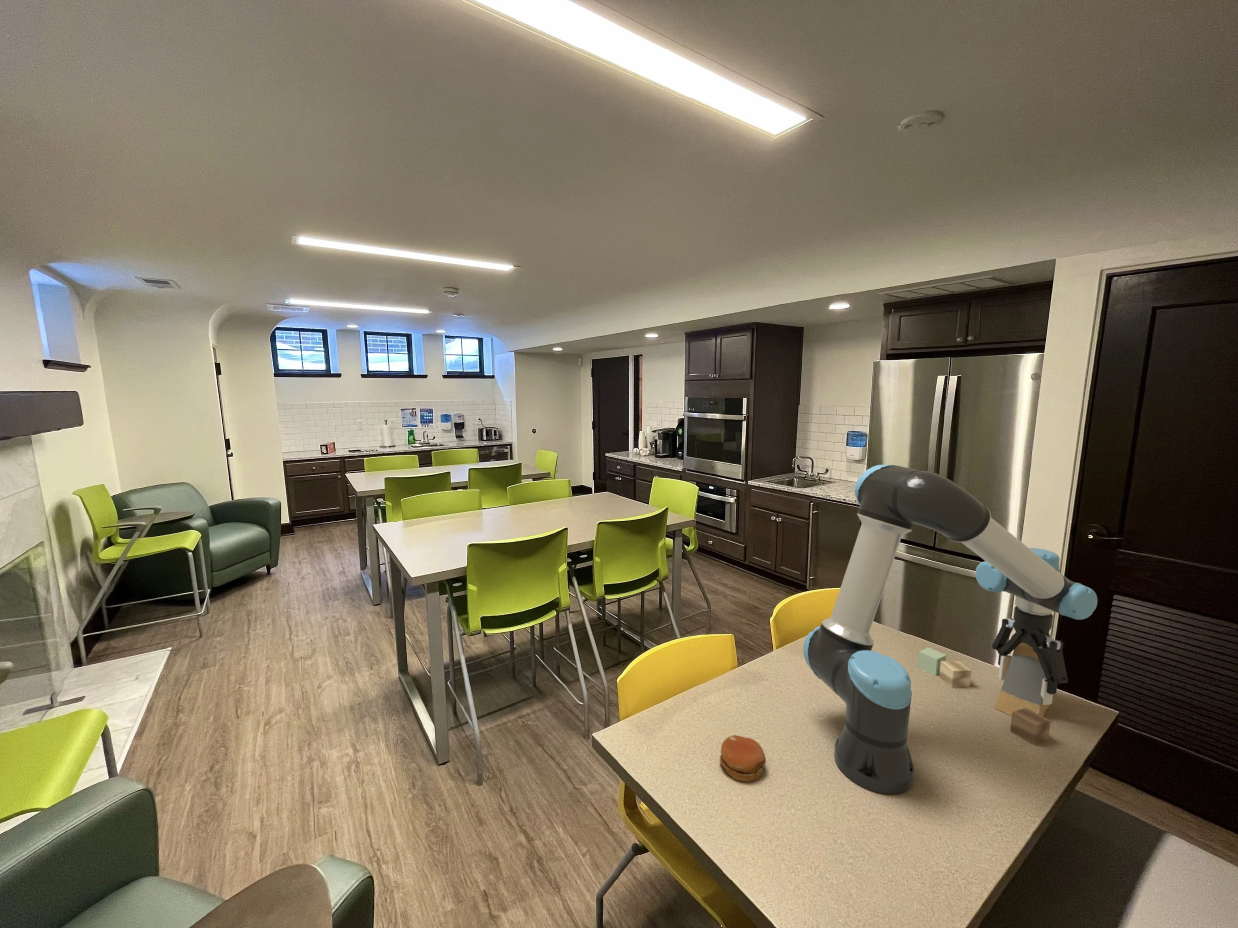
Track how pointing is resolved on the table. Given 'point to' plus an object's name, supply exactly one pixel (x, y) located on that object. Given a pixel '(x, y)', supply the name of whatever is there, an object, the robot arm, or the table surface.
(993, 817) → the table surface
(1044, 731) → the walnut cube
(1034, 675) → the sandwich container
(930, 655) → the sage cube
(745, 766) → the burger
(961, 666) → the maple cube
